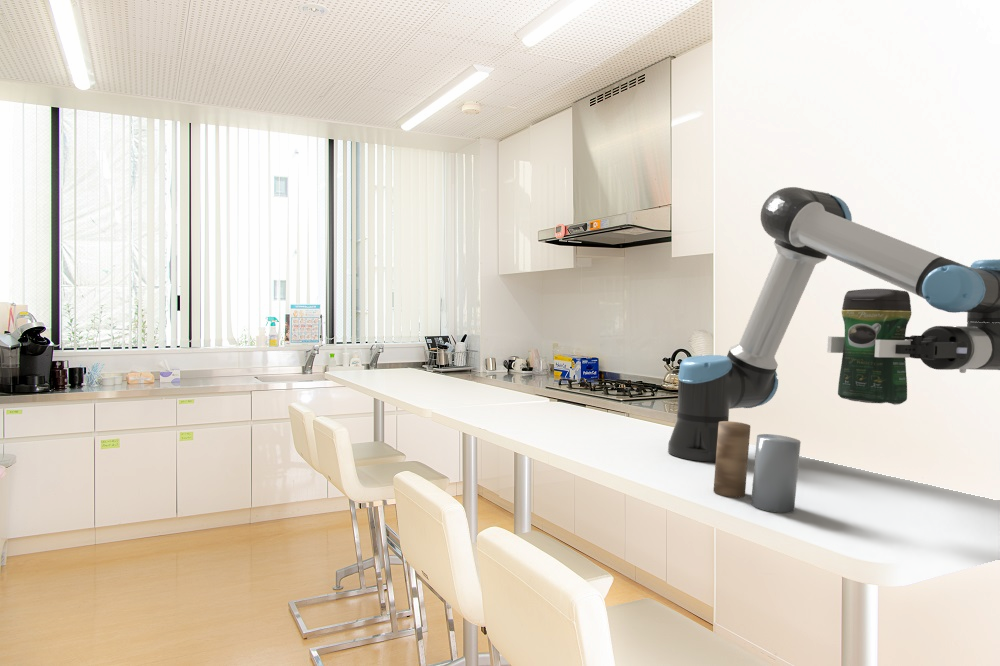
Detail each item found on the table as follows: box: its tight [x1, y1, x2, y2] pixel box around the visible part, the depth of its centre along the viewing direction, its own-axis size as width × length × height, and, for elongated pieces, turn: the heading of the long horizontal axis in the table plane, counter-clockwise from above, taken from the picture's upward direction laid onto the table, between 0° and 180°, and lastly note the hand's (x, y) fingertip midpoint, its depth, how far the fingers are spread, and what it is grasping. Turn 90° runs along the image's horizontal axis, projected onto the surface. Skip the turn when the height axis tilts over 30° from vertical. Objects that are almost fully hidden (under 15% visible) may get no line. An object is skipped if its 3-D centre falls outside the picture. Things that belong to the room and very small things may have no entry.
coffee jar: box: [837, 288, 913, 406], centre depth 107 cm, size 10×8×19 cm
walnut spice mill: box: [713, 420, 751, 498], centre depth 122 cm, size 6×6×13 cm
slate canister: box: [750, 433, 802, 514], centre depth 114 cm, size 7×7×12 cm
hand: (852, 346), depth 105 cm, fingers closed on coffee jar, 8 cm apart
